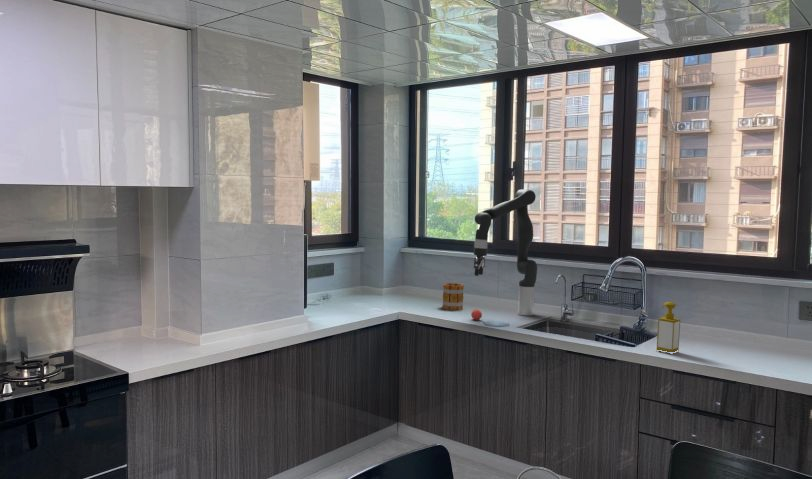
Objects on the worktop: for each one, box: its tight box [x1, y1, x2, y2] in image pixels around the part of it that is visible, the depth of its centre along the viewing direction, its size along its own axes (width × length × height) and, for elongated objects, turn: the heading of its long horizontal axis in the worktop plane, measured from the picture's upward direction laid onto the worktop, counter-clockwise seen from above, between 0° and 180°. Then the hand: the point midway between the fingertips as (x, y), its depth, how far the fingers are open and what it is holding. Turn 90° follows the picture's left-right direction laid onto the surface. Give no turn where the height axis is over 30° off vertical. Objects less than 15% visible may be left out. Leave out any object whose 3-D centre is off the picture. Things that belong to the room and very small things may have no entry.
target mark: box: [483, 320, 510, 328], centre depth 335 cm, size 14×14×1 cm
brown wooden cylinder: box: [441, 282, 465, 311], centre depth 382 cm, size 20×14×15 cm
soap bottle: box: [656, 301, 681, 352], centre depth 281 cm, size 7×13×24 cm, turn 134°
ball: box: [471, 308, 483, 321], centre depth 345 cm, size 6×6×6 cm
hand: (478, 275), depth 351 cm, fingers open, 8 cm apart
